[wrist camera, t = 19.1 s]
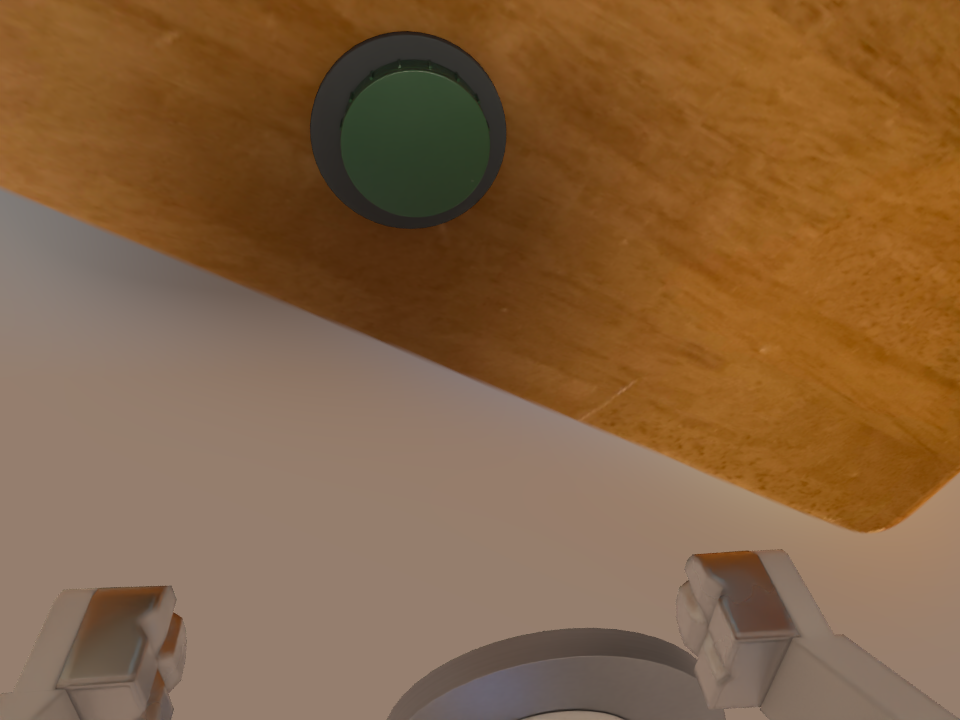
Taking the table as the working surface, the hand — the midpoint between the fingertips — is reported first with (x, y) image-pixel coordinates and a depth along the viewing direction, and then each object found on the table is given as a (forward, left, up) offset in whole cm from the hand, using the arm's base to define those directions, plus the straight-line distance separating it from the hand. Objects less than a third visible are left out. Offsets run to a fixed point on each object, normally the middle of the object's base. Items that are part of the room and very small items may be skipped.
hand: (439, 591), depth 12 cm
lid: (0, 0, -21) cm, 21 cm away
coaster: (0, 0, -23) cm, 23 cm away
